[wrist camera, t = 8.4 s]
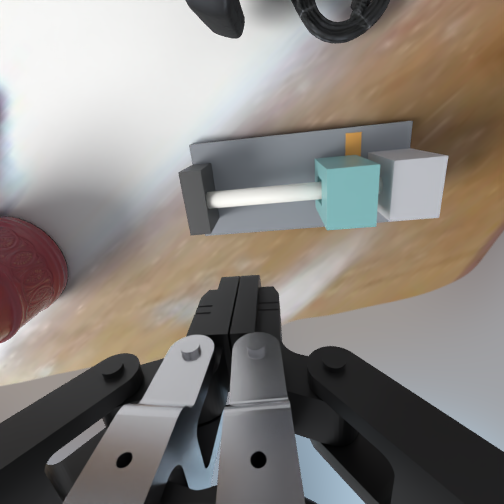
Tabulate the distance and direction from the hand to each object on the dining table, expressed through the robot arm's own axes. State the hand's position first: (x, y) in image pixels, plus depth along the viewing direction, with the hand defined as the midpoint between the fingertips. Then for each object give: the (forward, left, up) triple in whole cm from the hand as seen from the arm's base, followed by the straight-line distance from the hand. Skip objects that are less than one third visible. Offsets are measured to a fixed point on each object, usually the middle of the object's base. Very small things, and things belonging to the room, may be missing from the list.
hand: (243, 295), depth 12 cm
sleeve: (0, +8, -21) cm, 22 cm away
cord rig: (0, +4, -23) cm, 23 cm away
